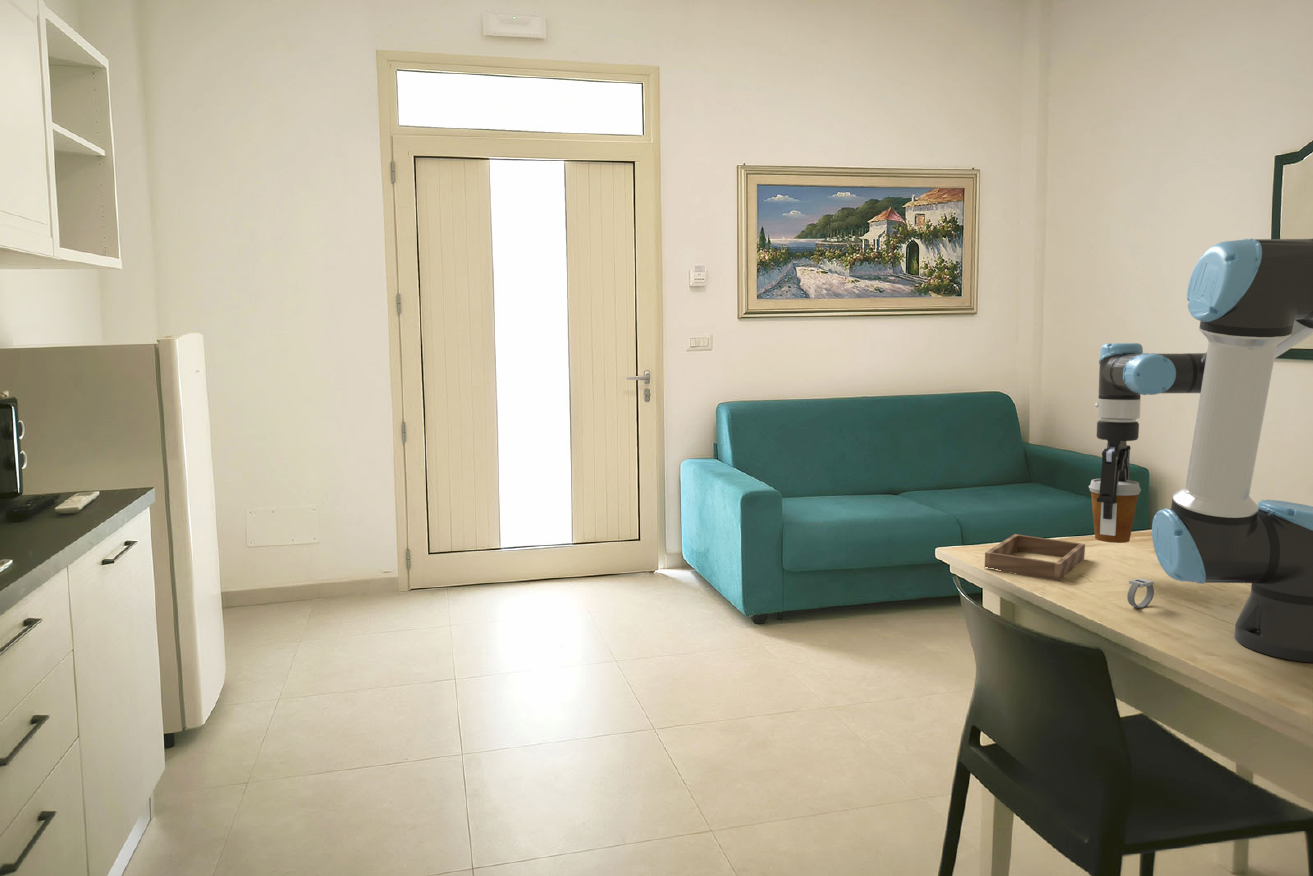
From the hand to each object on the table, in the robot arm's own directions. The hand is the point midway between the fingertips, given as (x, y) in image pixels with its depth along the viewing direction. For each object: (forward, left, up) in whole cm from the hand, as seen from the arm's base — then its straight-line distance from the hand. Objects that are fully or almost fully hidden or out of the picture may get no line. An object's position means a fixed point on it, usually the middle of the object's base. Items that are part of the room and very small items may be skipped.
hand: (1112, 530), depth 180 cm
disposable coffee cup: (0, 0, -2) cm, 2 cm away
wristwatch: (-17, -9, -10) cm, 22 cm away
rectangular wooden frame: (+1, +15, -10) cm, 18 cm away
